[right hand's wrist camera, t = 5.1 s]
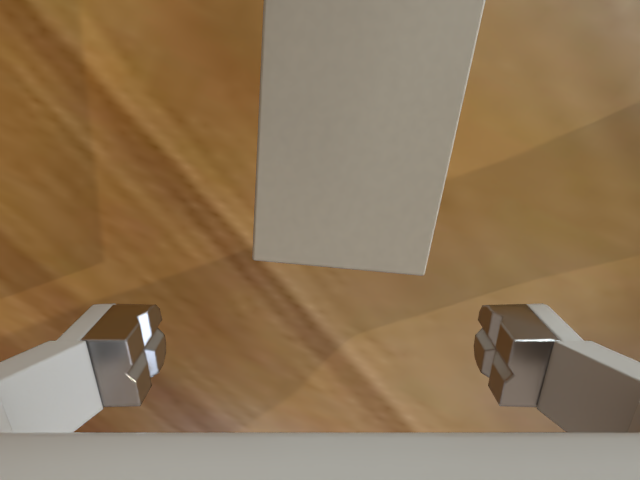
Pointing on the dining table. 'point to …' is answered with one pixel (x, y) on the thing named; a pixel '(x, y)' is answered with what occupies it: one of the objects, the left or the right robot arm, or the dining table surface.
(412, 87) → the box
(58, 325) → the dining table surface
